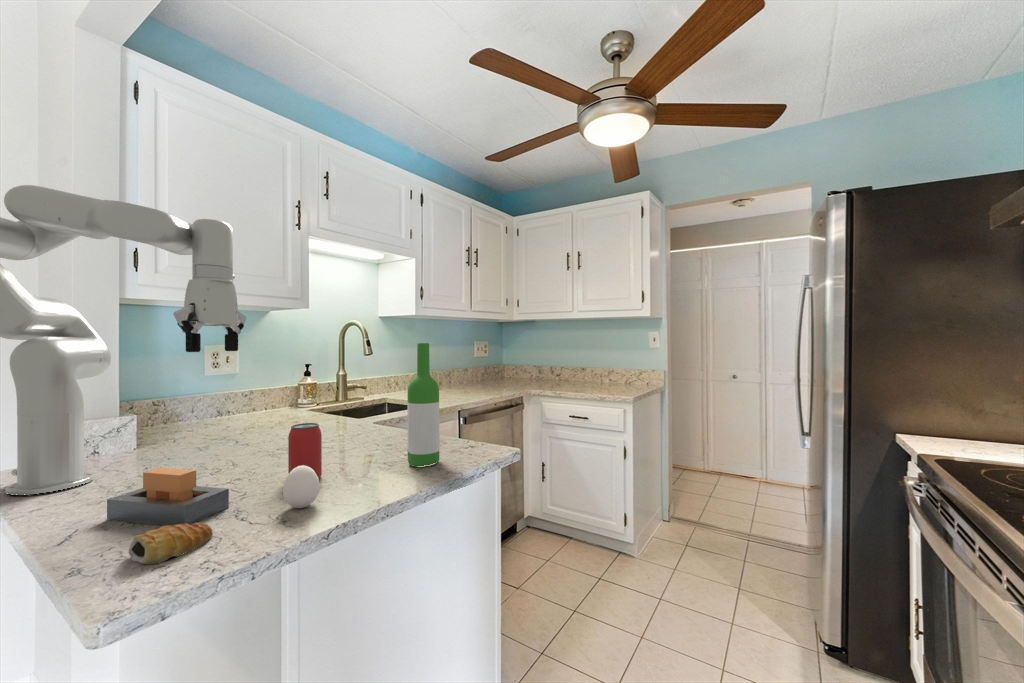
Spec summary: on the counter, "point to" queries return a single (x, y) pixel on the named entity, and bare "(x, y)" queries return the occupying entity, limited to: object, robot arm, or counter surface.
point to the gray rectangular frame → (167, 507)
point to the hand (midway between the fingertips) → (213, 351)
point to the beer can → (305, 447)
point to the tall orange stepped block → (169, 483)
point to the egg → (301, 487)
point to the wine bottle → (423, 413)
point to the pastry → (168, 542)
